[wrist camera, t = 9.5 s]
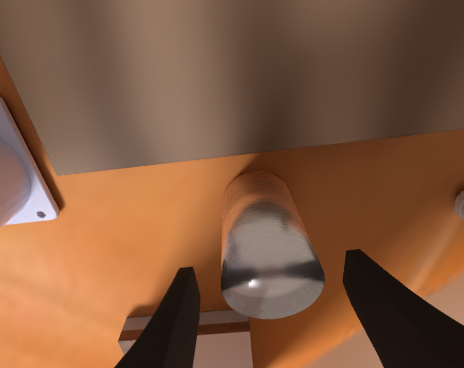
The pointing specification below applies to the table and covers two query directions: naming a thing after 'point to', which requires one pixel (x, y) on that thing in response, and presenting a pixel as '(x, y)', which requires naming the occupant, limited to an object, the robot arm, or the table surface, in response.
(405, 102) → the housing block
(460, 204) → the light bulb
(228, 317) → the tall white column
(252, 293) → the shiny metal cylinder
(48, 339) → the table surface
